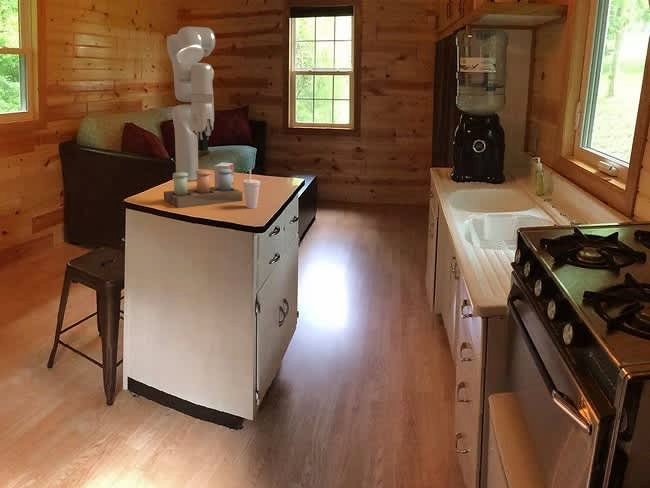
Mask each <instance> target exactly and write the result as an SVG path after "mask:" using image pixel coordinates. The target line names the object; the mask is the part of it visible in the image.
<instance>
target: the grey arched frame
mask: <svg viewBox="0 0 650 488" xmlns="http://www.w3.org/2000/svg"><path fill="white" fill-rule="evenodd" d="M234 164H235V163H232V162H220V163H217V164H215V165H214V168H213V169H214V170H213V171H214V187H216V186H219V173H218V169H231V170H232V173H231V188H234V187H235V185H234V184H235V182H234V180H235V175H234V173H235V172H234V171H235V165H234ZM234 189H235V188H234Z"/></svg>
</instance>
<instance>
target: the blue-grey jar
mask: <svg viewBox="0 0 650 488" xmlns="http://www.w3.org/2000/svg"><path fill="white" fill-rule="evenodd" d="M218 173H219V191H231V173H232V170H231V169H218Z"/></svg>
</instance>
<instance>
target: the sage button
mask: <svg viewBox="0 0 650 488" xmlns="http://www.w3.org/2000/svg"><path fill="white" fill-rule="evenodd" d="M173 176H174V179H173V191H174V195H176V196H186V195H188V186H189V184H188V181H187V176H188V173H185V172H176V171H175V172H172V177H173Z"/></svg>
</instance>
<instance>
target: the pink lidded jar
mask: <svg viewBox="0 0 650 488" xmlns="http://www.w3.org/2000/svg"><path fill="white" fill-rule="evenodd" d="M211 172H212V171H210V170H198V171H196V174H197V180H196V188H197V193H200V194H206V193H210V187H211V180H210V179H211Z"/></svg>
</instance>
